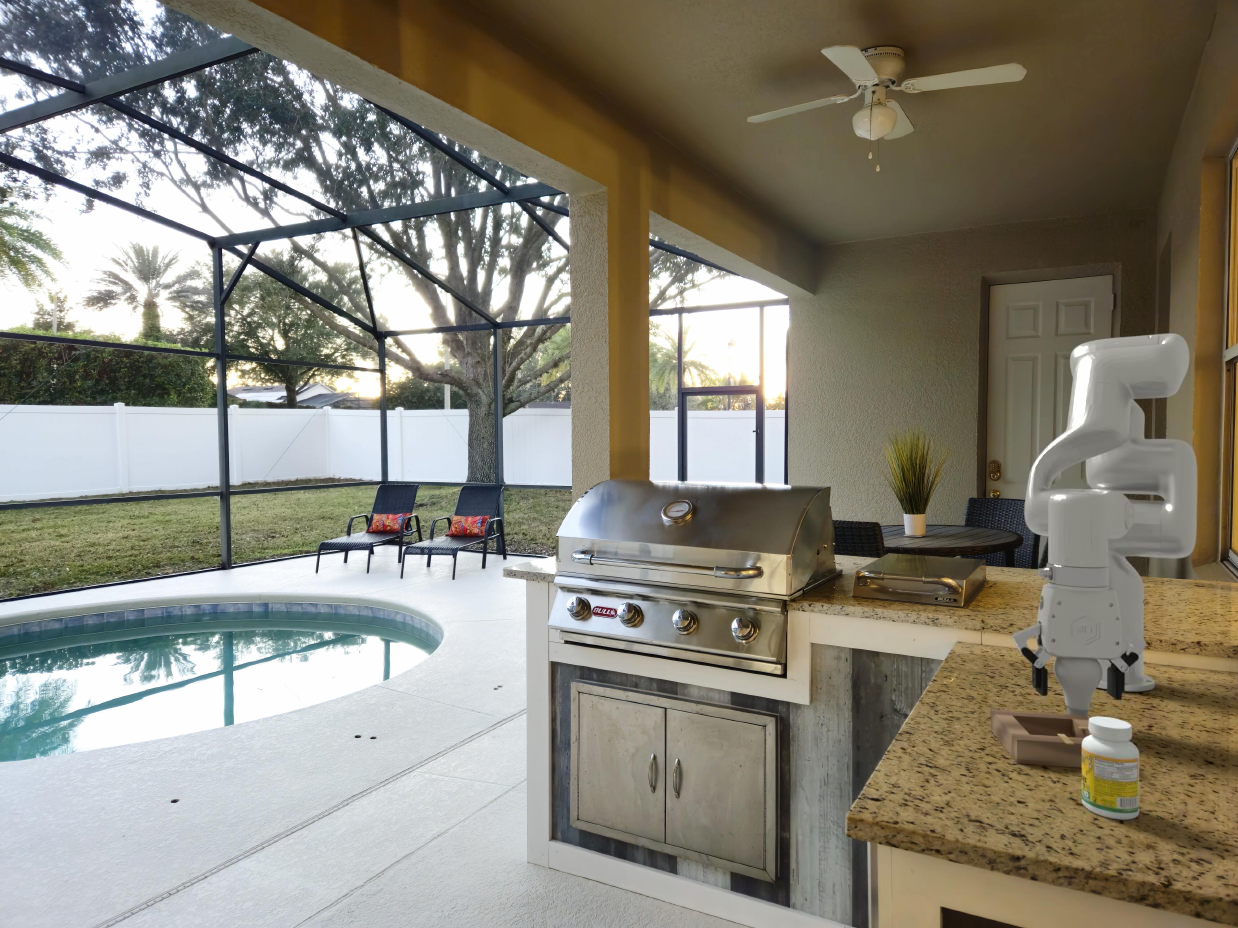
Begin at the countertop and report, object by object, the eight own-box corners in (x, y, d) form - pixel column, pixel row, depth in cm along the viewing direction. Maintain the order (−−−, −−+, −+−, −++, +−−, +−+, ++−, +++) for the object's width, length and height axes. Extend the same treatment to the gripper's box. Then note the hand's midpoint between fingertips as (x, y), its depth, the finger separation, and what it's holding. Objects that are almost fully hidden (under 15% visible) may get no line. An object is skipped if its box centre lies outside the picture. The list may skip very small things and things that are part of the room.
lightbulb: (1109, 733, 108) (1109, 655, 108) (1062, 730, 109) (1062, 653, 109) (1092, 719, 114) (1092, 645, 114) (1047, 716, 115) (1047, 643, 115)
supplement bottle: (1135, 825, 81) (1135, 734, 81) (1077, 810, 84) (1077, 723, 84) (1142, 807, 85) (1142, 721, 85) (1086, 794, 88) (1086, 710, 88)
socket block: (990, 730, 109) (990, 708, 109) (1087, 736, 107) (1087, 713, 107) (1018, 764, 97) (1018, 739, 97) (1128, 772, 94) (1128, 746, 94)
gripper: (1021, 579, 109) (1021, 699, 109) (1157, 583, 106) (1156, 707, 106) (1005, 571, 117) (1005, 684, 117) (1132, 575, 113) (1132, 691, 113)
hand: (1077, 695), depth 111 cm, fingers open, 9 cm apart
